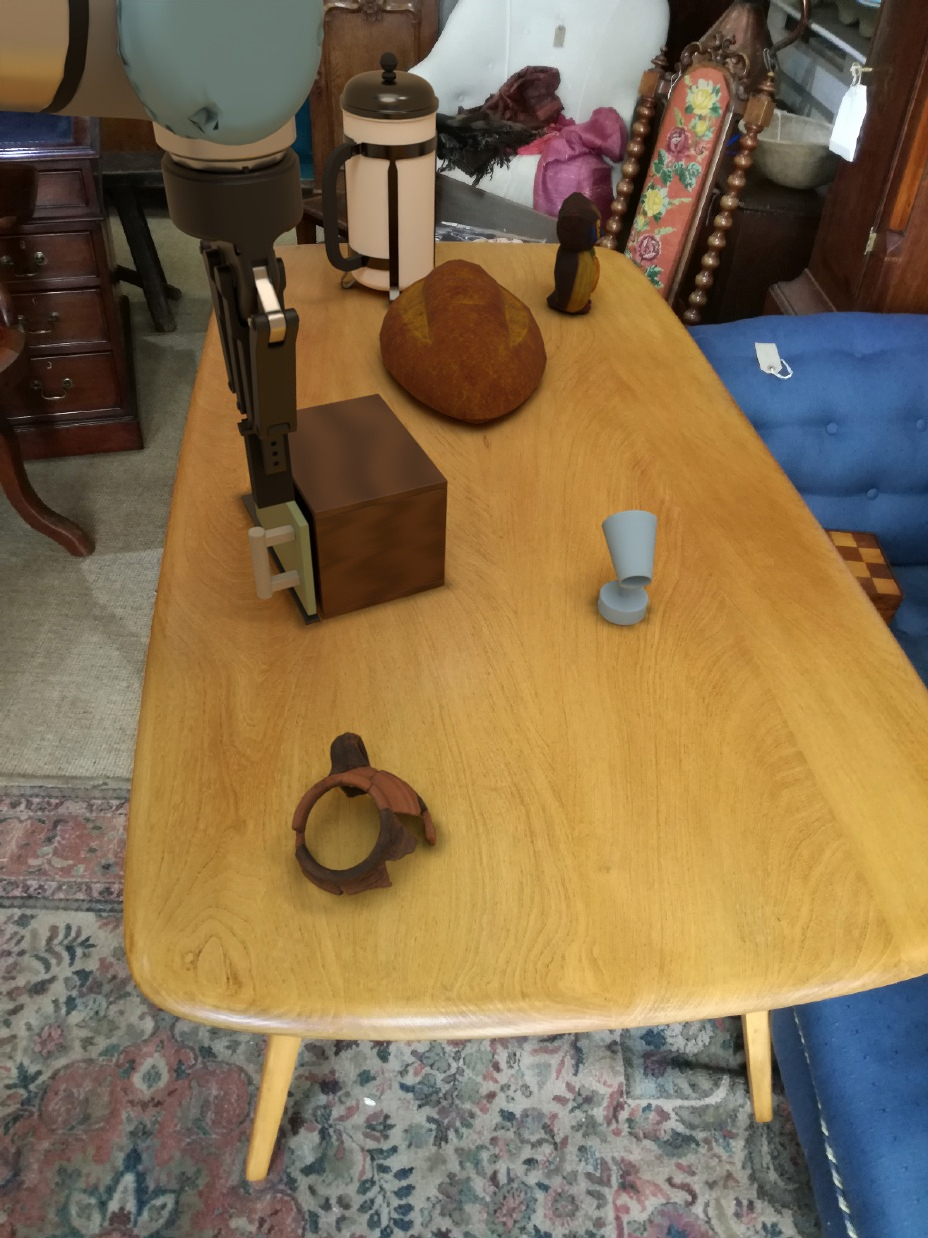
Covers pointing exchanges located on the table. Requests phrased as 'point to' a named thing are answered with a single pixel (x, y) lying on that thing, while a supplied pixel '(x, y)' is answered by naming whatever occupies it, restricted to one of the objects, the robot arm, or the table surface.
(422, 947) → the table surface
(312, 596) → the sliding door
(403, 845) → the broken clay pot
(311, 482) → the cupboard
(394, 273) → the coffee press
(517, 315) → the bread
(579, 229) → the figurine
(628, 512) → the spotlight
